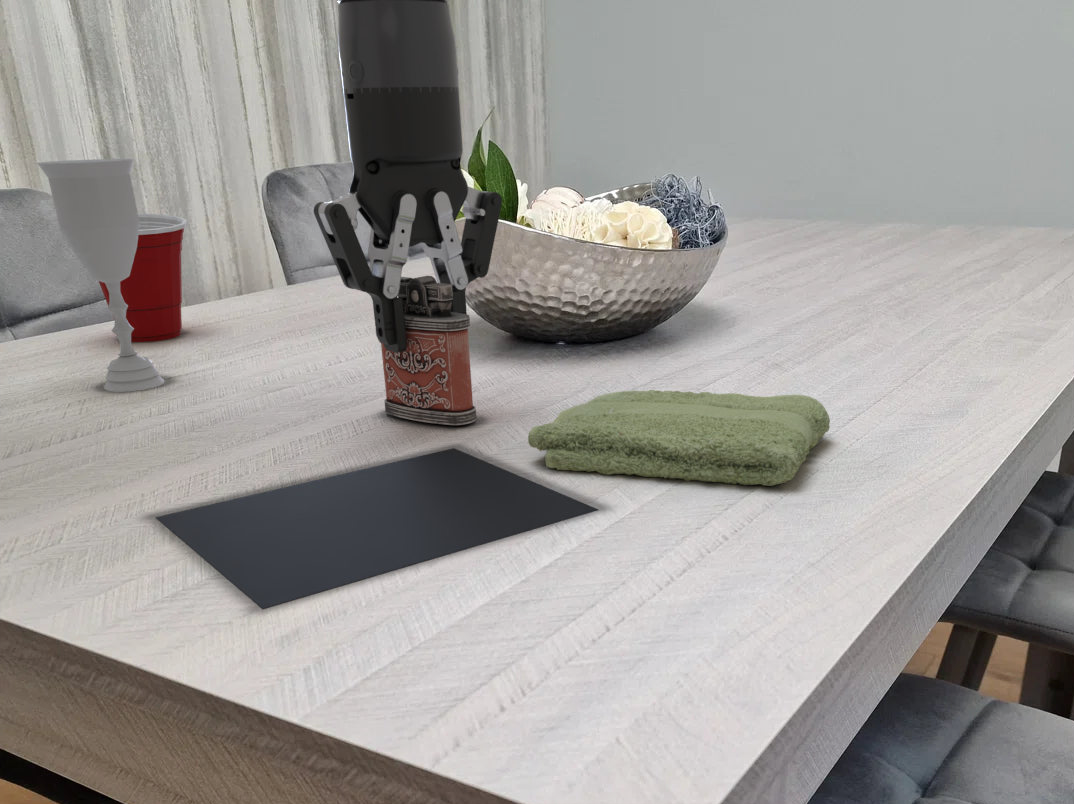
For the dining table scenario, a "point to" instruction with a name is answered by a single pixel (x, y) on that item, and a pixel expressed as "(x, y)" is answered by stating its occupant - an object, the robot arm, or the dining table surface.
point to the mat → (364, 523)
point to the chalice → (104, 246)
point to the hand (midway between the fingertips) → (423, 344)
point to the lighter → (430, 358)
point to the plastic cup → (154, 280)
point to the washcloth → (686, 436)
